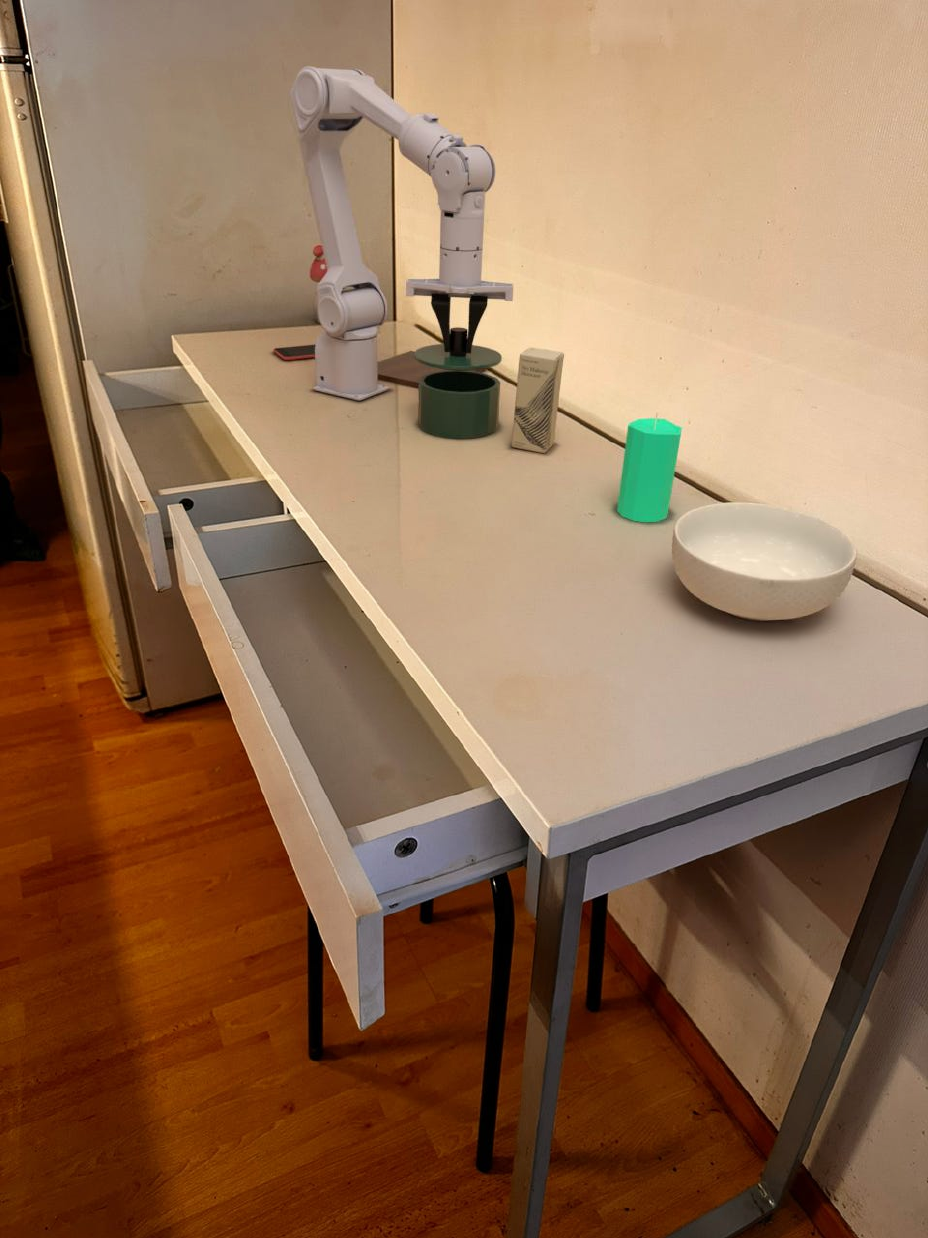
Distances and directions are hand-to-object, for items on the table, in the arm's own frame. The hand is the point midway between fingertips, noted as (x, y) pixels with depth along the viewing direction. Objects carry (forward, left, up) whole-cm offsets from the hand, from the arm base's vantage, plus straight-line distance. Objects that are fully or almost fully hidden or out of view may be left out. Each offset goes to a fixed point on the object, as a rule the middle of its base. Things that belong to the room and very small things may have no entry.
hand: (457, 351), depth 126 cm
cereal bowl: (+52, -28, -10) cm, 60 cm away
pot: (+1, -1, -10) cm, 10 cm away
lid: (0, 0, -1) cm, 1 cm away
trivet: (-19, +19, -10) cm, 29 cm away
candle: (+35, -14, -10) cm, 39 cm away
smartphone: (-41, +17, -10) cm, 46 cm away
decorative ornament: (-54, +38, -10) cm, 67 cm away
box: (+14, -2, -10) cm, 18 cm away
